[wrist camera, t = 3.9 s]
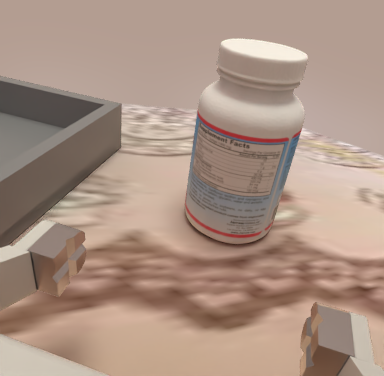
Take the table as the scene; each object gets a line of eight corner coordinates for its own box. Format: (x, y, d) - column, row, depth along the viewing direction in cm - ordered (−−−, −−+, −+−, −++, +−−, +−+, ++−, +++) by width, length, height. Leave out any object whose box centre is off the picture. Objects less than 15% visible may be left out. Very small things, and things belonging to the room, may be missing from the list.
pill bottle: (223, 184, 28) (254, 34, 22) (287, 224, 24) (345, 58, 18) (165, 210, 24) (182, 36, 18) (231, 262, 21) (280, 68, 14)
